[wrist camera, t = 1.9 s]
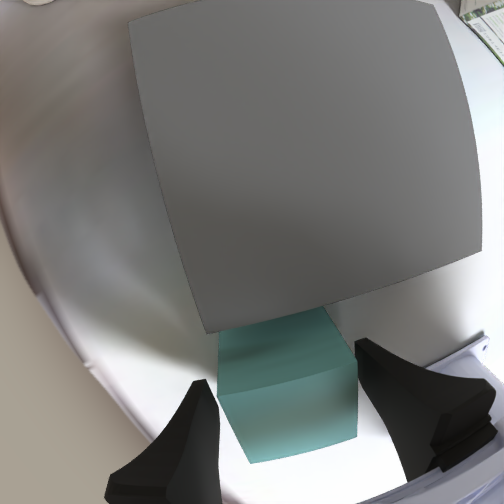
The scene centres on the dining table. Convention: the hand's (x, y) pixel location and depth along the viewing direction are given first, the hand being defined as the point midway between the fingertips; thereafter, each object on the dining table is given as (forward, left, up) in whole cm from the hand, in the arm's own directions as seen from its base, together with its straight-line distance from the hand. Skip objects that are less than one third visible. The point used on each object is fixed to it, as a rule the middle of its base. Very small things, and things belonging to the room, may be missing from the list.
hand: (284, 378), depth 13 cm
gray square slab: (+10, -4, -2) cm, 11 cm away
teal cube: (0, 0, -2) cm, 2 cm away
